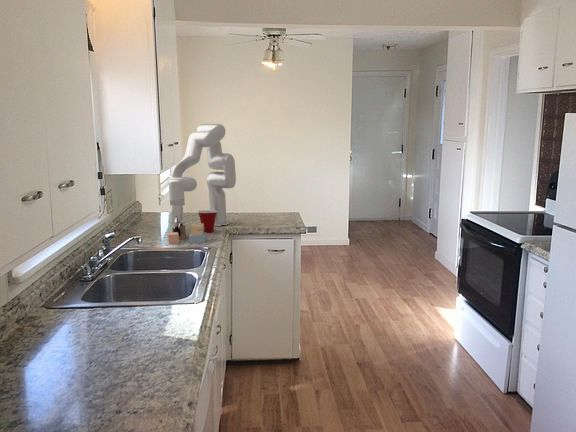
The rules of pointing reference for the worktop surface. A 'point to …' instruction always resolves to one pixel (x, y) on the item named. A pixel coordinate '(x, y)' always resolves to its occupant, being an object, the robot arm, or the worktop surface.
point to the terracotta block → (173, 238)
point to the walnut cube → (183, 232)
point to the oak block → (197, 229)
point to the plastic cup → (207, 220)
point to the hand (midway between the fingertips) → (179, 234)
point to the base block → (197, 238)
